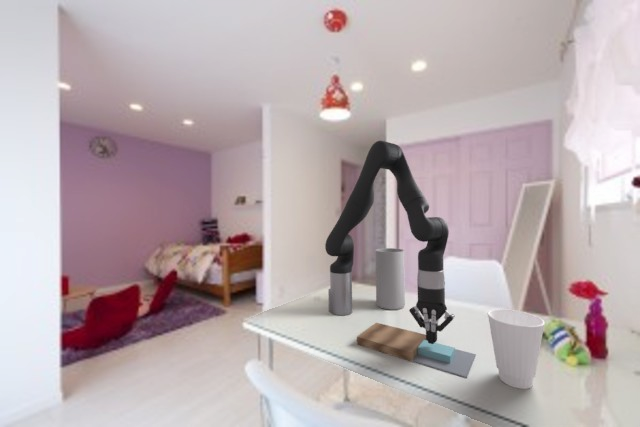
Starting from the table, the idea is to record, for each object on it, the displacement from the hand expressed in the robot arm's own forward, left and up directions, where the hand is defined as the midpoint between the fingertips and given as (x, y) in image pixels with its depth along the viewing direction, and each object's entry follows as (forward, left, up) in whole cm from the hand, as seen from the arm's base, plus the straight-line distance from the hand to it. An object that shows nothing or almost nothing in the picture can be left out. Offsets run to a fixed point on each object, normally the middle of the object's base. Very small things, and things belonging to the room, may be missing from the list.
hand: (431, 342), depth 85 cm
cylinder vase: (-28, +34, -4) cm, 44 cm away
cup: (+20, -1, -4) cm, 21 cm away
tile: (+1, +1, -3) cm, 4 cm away
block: (-13, 0, -4) cm, 13 cm away
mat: (+3, 0, -4) cm, 5 cm away
